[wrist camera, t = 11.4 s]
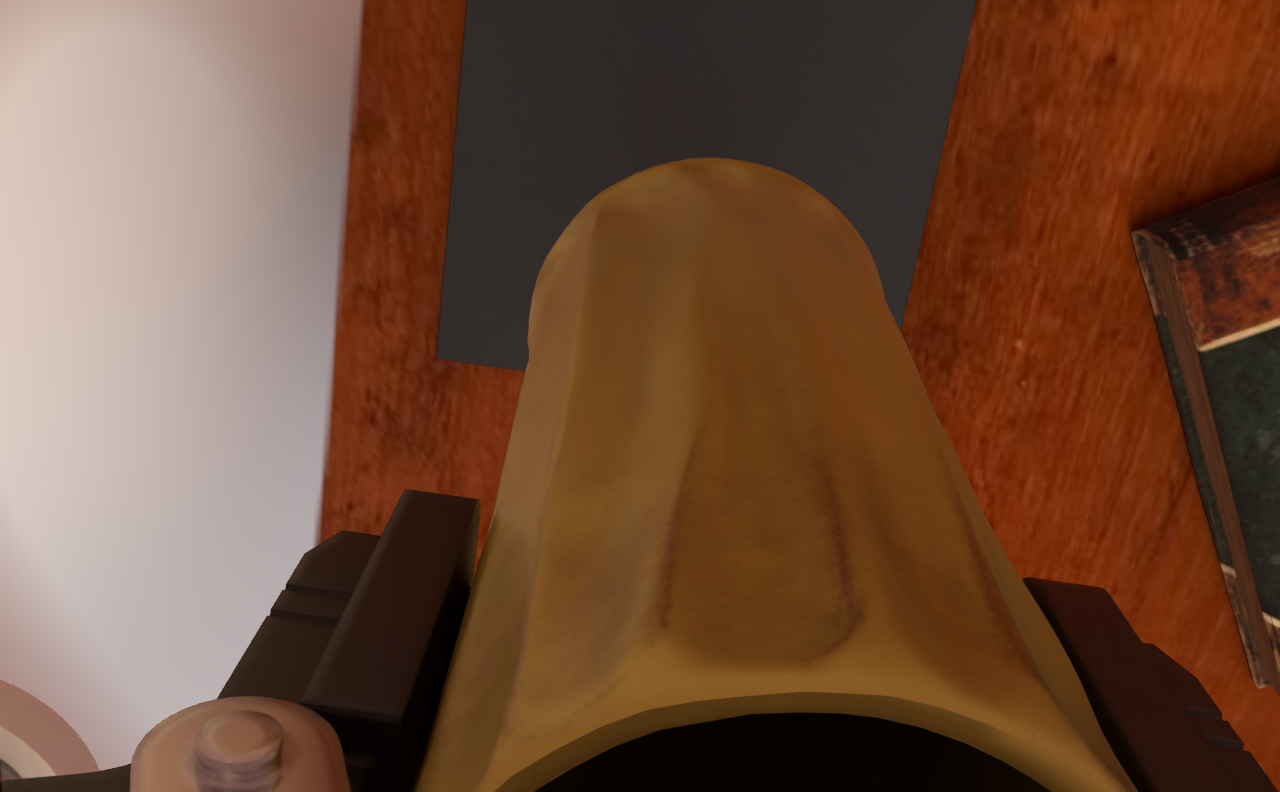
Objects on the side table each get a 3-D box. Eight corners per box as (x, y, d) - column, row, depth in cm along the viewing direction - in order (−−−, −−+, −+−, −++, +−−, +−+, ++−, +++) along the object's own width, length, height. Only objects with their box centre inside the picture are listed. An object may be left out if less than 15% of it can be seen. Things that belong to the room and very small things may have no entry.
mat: (438, 354, 37) (436, 359, 37) (479, -128, 32) (477, -129, 32) (877, 417, 38) (879, 421, 37) (984, -51, 33) (988, -51, 32)
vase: (481, 420, 21) (168, 1223, 8) (607, 95, 19) (474, 432, 6) (792, 538, 22) (990, 1459, 9) (946, 237, 20) (1522, 829, 7)
